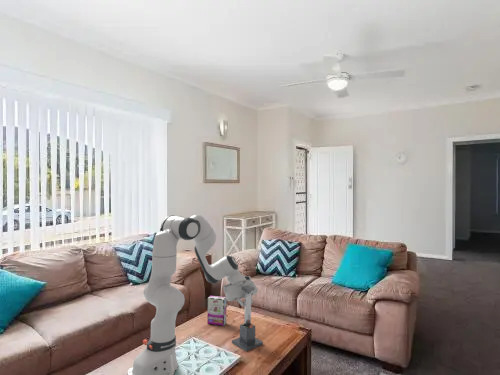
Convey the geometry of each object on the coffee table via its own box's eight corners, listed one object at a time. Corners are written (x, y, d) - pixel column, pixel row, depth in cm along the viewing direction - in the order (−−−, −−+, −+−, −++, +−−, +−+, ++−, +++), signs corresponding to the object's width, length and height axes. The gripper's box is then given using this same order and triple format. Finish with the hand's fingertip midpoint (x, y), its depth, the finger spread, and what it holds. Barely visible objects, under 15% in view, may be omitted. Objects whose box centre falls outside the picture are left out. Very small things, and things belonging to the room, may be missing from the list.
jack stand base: (245, 351, 168) (246, 330, 168) (231, 342, 177) (232, 323, 177) (262, 344, 176) (263, 324, 176) (248, 336, 185) (248, 317, 185)
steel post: (246, 333, 173) (247, 289, 173) (241, 330, 177) (241, 286, 177) (254, 330, 176) (254, 287, 176) (248, 327, 180) (248, 285, 180)
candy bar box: (226, 323, 203) (227, 296, 203) (223, 326, 198) (224, 299, 198) (210, 320, 206) (210, 295, 206) (207, 323, 202) (207, 297, 202)
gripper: (224, 282, 176) (234, 305, 169) (252, 276, 189) (263, 297, 182) (219, 288, 179) (229, 311, 172) (247, 282, 193) (258, 303, 185)
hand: (247, 304), depth 177 cm, fingers open, 4 cm apart
